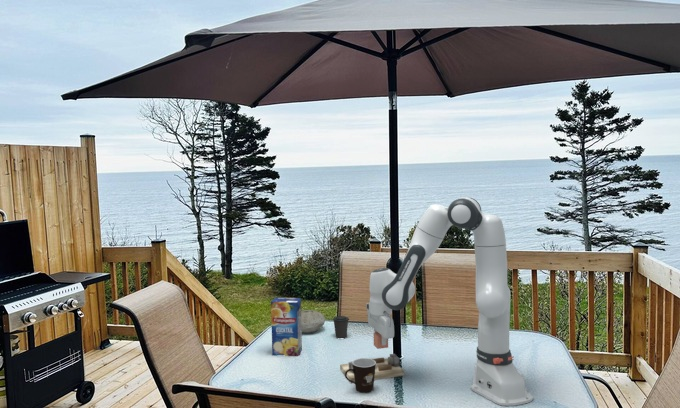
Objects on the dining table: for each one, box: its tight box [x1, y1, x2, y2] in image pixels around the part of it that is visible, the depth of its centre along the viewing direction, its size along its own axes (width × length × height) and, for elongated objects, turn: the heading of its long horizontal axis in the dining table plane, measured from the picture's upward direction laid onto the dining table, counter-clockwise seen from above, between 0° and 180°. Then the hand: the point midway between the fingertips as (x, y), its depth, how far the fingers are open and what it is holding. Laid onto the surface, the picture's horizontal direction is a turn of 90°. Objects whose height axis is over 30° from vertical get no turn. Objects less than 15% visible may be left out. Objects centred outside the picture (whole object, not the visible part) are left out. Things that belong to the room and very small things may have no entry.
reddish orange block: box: [373, 332, 389, 350], centre depth 194 cm, size 4×4×5 cm
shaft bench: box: [339, 353, 405, 384], centre depth 194 cm, size 14×22×5 cm, turn 107°
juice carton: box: [270, 297, 303, 357], centre depth 217 cm, size 12×8×24 cm, turn 82°
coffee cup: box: [332, 315, 350, 339], centre depth 237 cm, size 8×8×10 cm
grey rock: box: [301, 309, 326, 334], centre depth 248 cm, size 18×18×10 cm
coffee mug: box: [344, 357, 376, 394], centre depth 179 cm, size 12×9×10 cm
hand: (380, 342), depth 195 cm, fingers closed on reddish orange block, 4 cm apart
